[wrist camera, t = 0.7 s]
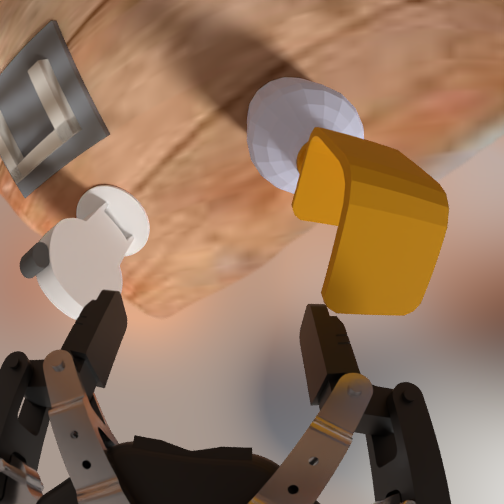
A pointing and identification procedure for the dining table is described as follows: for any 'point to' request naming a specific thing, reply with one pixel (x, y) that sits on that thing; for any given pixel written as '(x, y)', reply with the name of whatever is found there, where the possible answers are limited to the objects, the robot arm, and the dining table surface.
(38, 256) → the panda figurine
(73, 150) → the u rest
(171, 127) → the dining table surface
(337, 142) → the soap bottle
